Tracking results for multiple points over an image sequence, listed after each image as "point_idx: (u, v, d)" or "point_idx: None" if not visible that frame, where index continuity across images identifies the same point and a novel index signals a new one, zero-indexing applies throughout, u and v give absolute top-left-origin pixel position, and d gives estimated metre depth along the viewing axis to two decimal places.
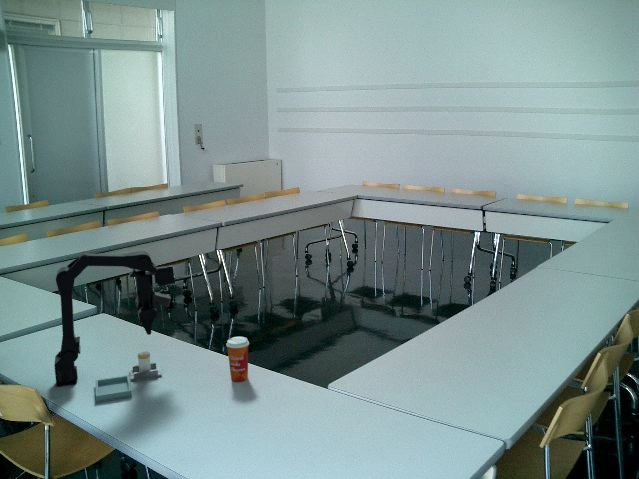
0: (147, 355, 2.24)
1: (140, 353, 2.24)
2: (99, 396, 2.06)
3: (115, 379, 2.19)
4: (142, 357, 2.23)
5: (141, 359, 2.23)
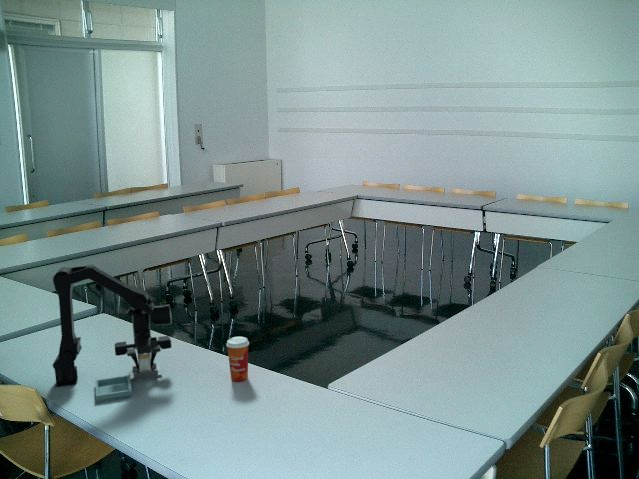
0: (147, 355, 2.24)
1: None
2: (99, 396, 2.06)
3: (115, 379, 2.19)
4: (142, 357, 2.23)
5: (141, 359, 2.23)
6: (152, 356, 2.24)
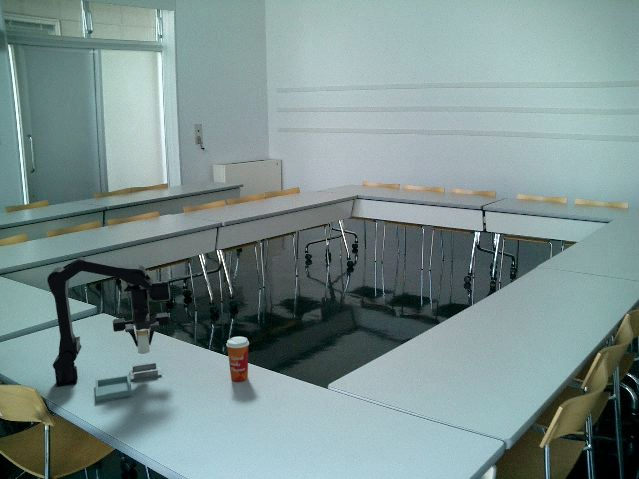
0: (146, 332, 2.22)
1: (138, 330, 2.22)
2: (99, 396, 2.06)
3: (115, 379, 2.19)
4: (140, 334, 2.21)
5: (139, 335, 2.21)
6: (150, 333, 2.23)
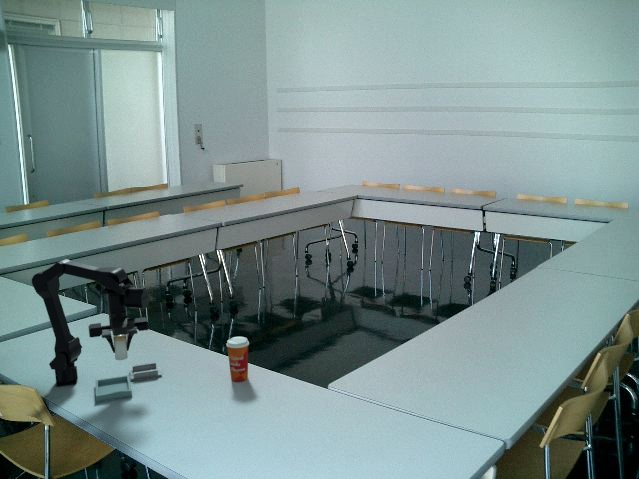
0: (124, 338, 2.13)
1: None
2: (99, 396, 2.06)
3: (115, 379, 2.19)
4: (118, 339, 2.12)
5: (117, 341, 2.12)
6: (128, 338, 2.14)
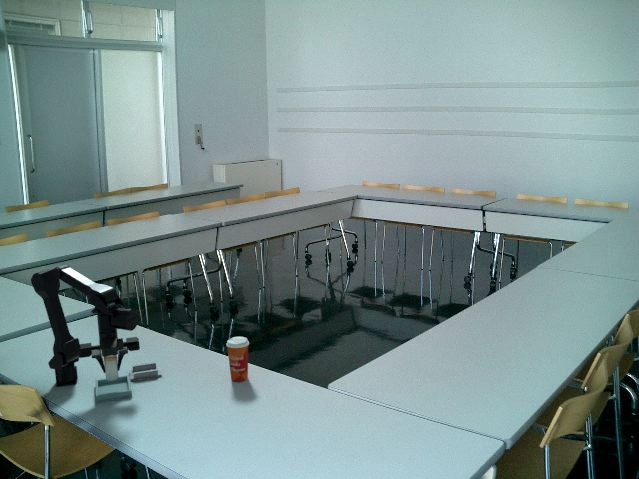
0: (114, 358, 2.10)
1: None
2: (99, 396, 2.06)
3: None
4: (108, 359, 2.09)
5: (107, 361, 2.09)
6: (119, 358, 2.11)
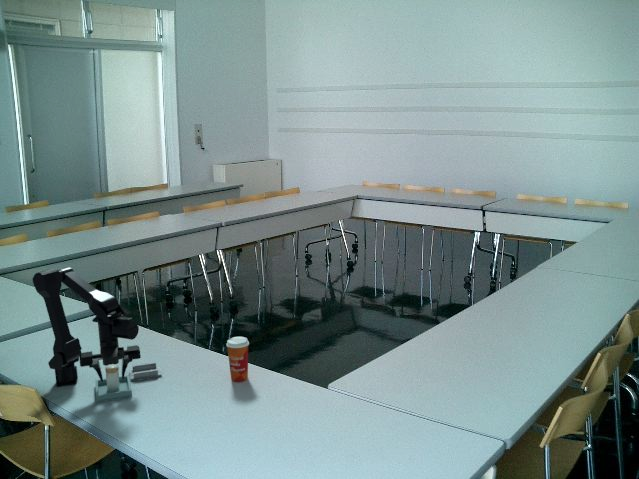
0: (116, 370, 2.11)
1: (108, 367, 2.11)
2: (99, 396, 2.06)
3: None
4: (110, 371, 2.10)
5: (109, 373, 2.10)
6: (123, 366, 2.12)
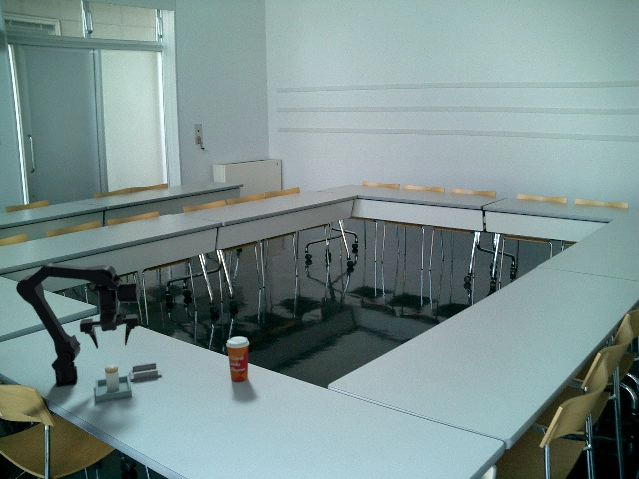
0: (115, 370, 2.11)
1: (107, 367, 2.11)
2: (99, 396, 2.06)
3: None
4: (109, 371, 2.10)
5: (108, 373, 2.10)
6: (126, 333, 2.19)
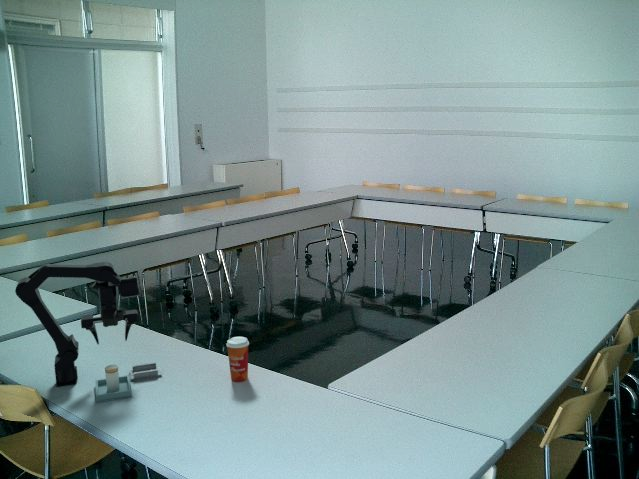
0: (115, 370, 2.11)
1: (107, 367, 2.11)
2: (99, 396, 2.06)
3: None
4: (109, 371, 2.10)
5: (108, 373, 2.10)
6: (126, 329, 2.24)
